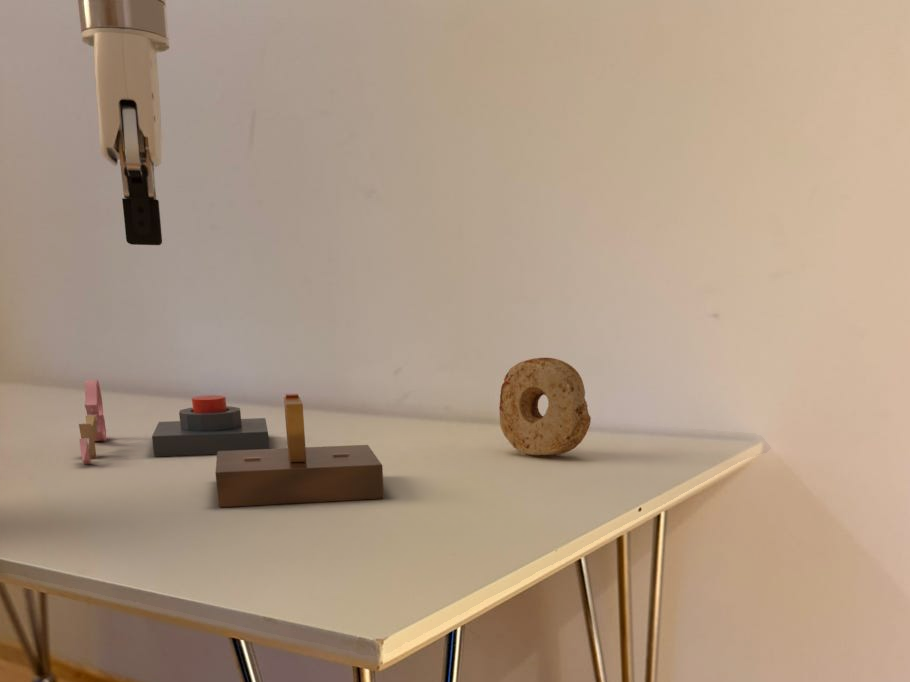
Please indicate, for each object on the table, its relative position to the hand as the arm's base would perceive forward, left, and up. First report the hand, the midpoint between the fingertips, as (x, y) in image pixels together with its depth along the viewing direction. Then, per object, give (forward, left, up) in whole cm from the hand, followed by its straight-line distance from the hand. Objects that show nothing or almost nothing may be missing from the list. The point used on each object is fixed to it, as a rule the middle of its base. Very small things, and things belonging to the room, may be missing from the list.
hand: (144, 244), depth 95 cm
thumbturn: (+12, -18, -18) cm, 28 cm away
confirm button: (+4, +7, -17) cm, 19 cm away
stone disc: (+38, -7, -21) cm, 44 cm away
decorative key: (-8, +6, -21) cm, 24 cm away
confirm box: (+4, +7, -21) cm, 22 cm away
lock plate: (+12, -18, -21) cm, 30 cm away
